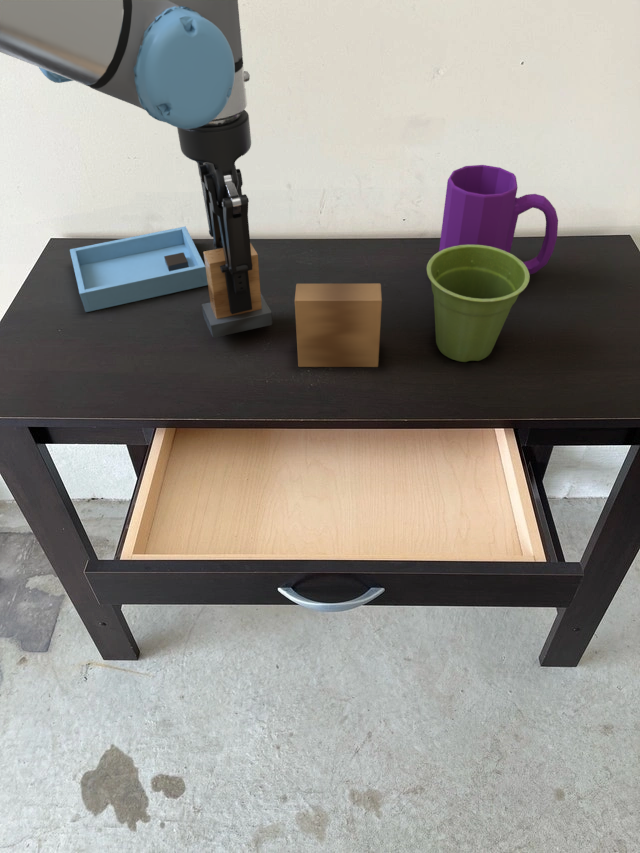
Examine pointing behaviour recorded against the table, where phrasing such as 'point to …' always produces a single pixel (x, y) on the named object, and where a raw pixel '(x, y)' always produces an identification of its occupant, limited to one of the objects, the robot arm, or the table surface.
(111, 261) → the pan
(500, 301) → the plant pot
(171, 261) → the dark grey flat block
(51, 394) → the table surface
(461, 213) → the mug
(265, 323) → the brush
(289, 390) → the table surface
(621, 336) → the table surface
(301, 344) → the square wooden block
